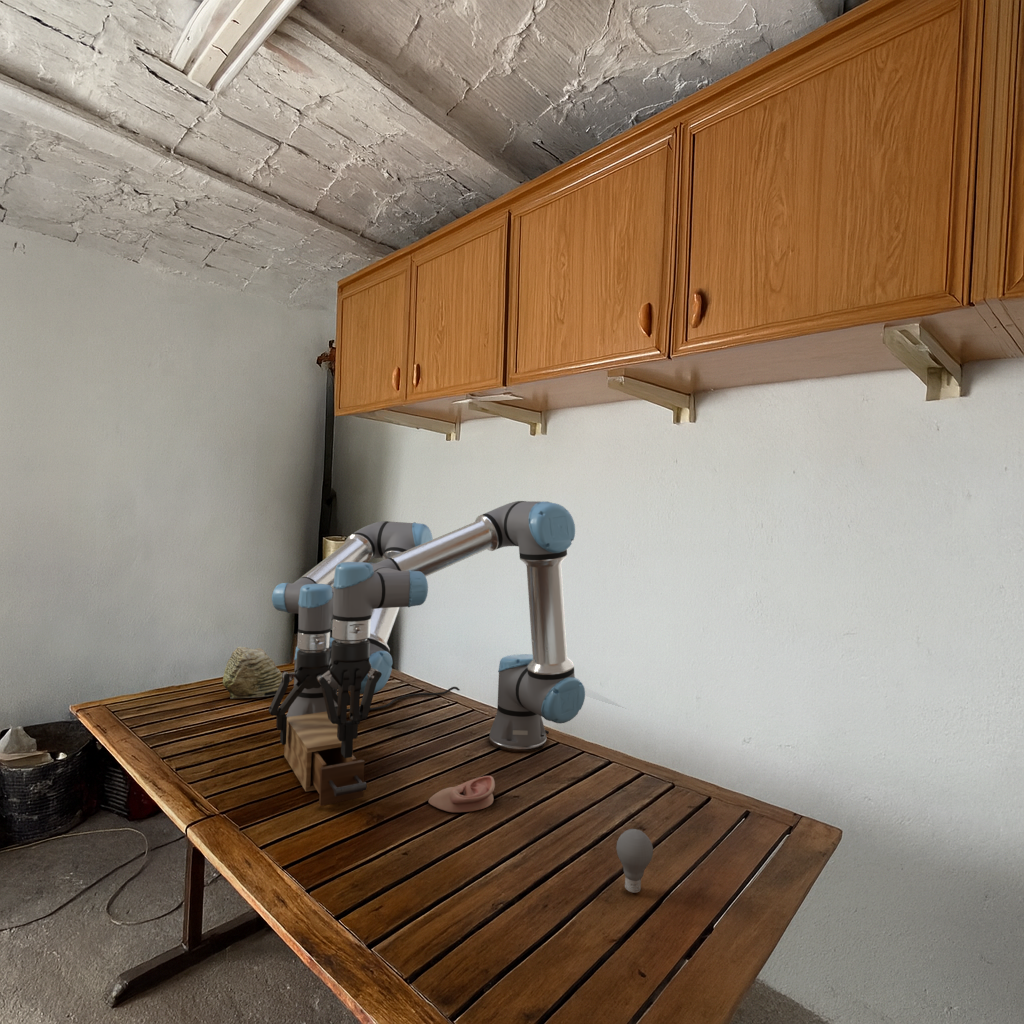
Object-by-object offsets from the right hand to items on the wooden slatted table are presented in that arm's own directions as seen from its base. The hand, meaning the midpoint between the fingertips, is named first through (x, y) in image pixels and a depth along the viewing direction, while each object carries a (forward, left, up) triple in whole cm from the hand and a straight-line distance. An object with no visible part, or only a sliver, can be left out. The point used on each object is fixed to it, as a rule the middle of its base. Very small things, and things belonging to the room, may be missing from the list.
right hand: (346, 755), depth 128 cm
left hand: (+3, -28, -7) cm, 29 cm away
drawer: (+1, -9, -10) cm, 14 cm away
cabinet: (+2, -22, -11) cm, 25 cm away
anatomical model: (-24, +4, -11) cm, 27 cm away
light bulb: (-40, +44, -11) cm, 60 cm away
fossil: (+13, -83, -11) cm, 85 cm away
